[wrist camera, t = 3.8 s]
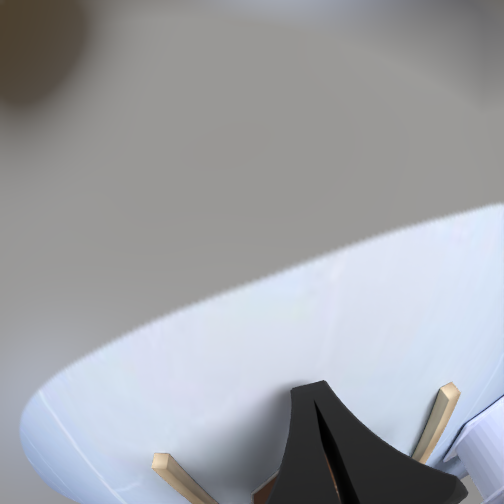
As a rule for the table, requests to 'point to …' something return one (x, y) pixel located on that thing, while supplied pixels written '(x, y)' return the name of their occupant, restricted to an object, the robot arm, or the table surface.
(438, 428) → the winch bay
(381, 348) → the table surface
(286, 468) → the robot arm
